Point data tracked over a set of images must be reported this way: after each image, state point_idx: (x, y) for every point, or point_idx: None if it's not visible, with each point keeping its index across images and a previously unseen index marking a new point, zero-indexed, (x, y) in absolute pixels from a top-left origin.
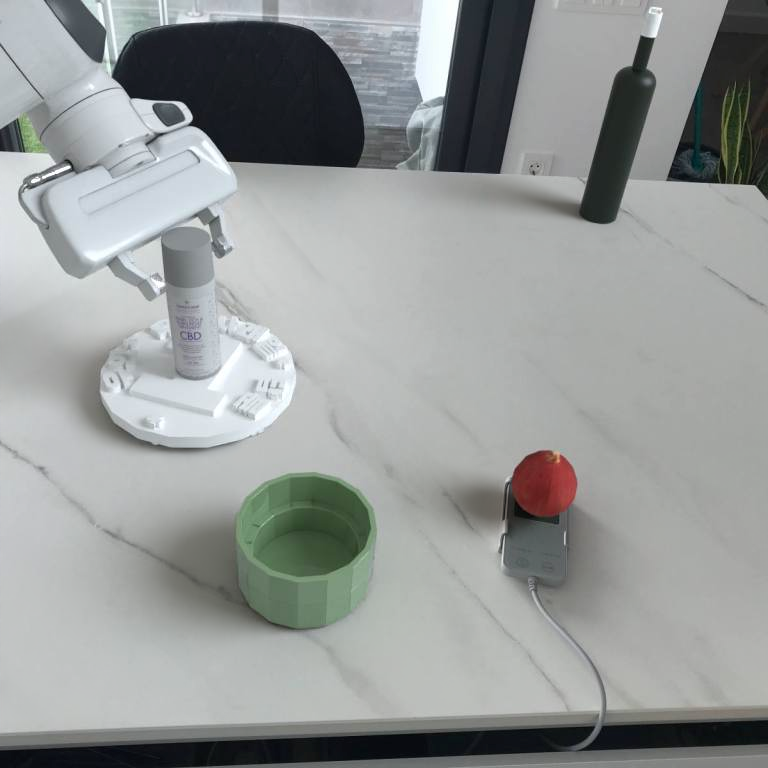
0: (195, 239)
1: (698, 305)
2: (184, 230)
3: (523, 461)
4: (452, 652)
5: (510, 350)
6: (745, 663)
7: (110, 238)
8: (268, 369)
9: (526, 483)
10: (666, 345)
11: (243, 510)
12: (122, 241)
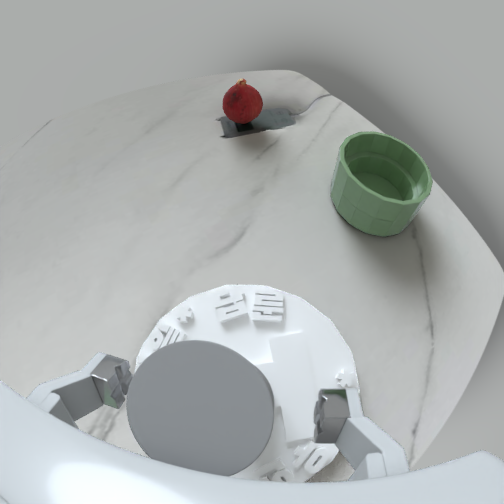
0: (186, 383)
1: (50, 134)
2: (158, 437)
3: (240, 102)
4: (355, 131)
5: (93, 181)
6: (281, 72)
7: (432, 502)
8: (199, 325)
9: (256, 99)
10: (81, 129)
11: (413, 200)
12: (401, 490)
